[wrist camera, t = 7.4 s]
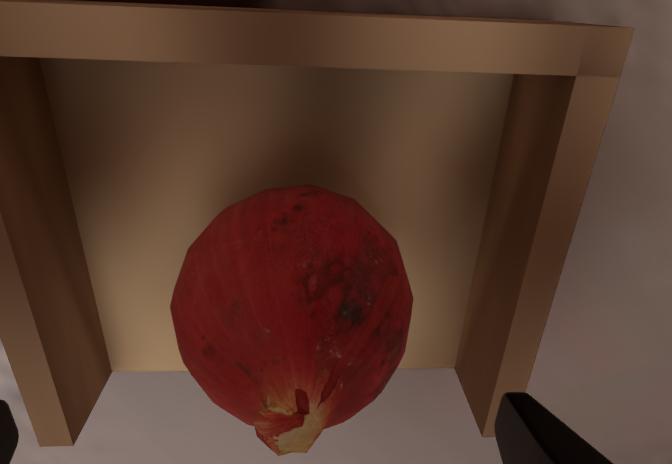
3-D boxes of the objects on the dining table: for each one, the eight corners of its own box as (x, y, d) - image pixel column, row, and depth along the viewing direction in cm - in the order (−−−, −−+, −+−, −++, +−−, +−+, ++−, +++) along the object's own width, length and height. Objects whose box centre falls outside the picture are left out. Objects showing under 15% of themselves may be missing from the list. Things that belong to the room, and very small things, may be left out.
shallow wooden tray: (555, 21, 13) (634, 27, 10) (477, 362, 18) (511, 436, 15) (-10, -3, 12) (-122, -5, 9) (87, 366, 17) (40, 446, 14)
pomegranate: (288, 112, 13) (295, 210, 6) (415, 234, 15) (533, 418, 8) (163, 246, 15) (45, 460, 7) (296, 343, 17) (306, 587, 9)
